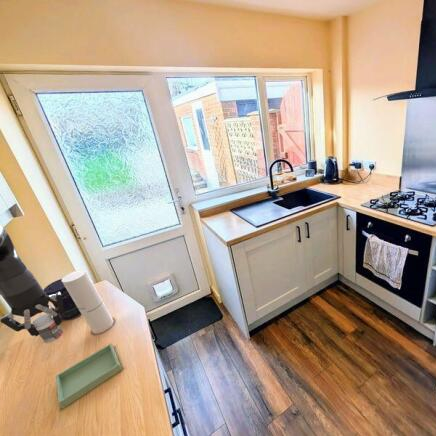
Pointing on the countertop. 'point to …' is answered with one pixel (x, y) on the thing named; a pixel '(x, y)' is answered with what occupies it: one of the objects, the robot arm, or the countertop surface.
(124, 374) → the countertop surface
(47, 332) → the pill bottle
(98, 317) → the cylindrical container
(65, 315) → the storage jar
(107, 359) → the tray
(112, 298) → the countertop surface
